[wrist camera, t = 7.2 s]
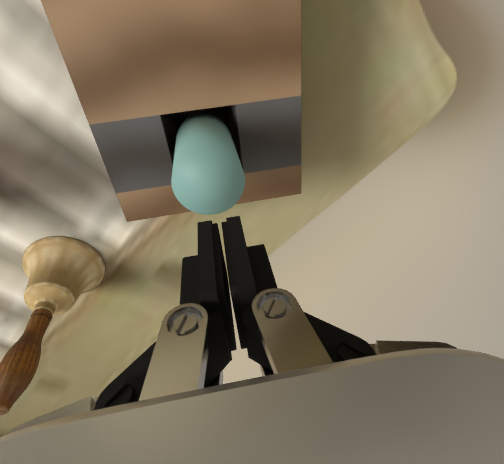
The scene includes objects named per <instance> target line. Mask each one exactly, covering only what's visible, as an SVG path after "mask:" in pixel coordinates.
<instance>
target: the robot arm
mask: <svg viewBox="0 0 504 464" xmlns="http://www.w3.org/2000/svg"><path fill="white" fill-rule="evenodd" d="M226 220H227V222H222V230H223V238H224V246H225V254H226V262H227V270H228V277H229V284H228V277H227V271H226V266H225V261H224V255H223V250H222V245H221V240H220V234H219V229H218V224H217V223H215V224H212V221H205V222H198V255H196V256H190V257H184V258H183V261H182V277H181V294H180V305H179V306H177V307H175V308H173V309H172V310H170V311H169V312H168V313H167V314H166V316H165V317H164V319H163V321H162V324H161V327H160V331H159V334H158V337H157V341H156V342H155V343H154V344H153V345H151V346H150V347H149V348H148V349H147V350H146V351H145V352H144V353H143V354H142V355H141V356H140V357H138V358H137V359H136V360H135V361H134V362H133V363H132V364H131V365H130V366H129V367H128V368H126V369H125V370H124V371H123V372H122V373H121V374H120V375H119V376H118V377H117V378H116V379H115V380H113V381H112V382H111V383H110V384H109V385H108V386H107V387H106V388H105V389H104V390H103V392H102V393H101V394H100V396H99V397H96V398H94V399H93V398H92V397H91V396H89V397H87V398H84V399H82V400H79V401H77V402H74V403H72V404H69V405H67V406H65V407H62V408H60V409H57V410H55V411H52V412H50V413H47V414H45V415H42V416H40V417H37V418H35V419H32V420H30V421H27V422H25V423H23V424H21V425H19V426H17V427H15V428H14V429H12V430H11V431H10V432H9V433H8V434H6V435H5V436H2V437H0V464H504V359H502V358H499V357H496V356H492V355H489V354H485V353H481V352H475V351H469V350H462V349H457V348H456V347H454V346H451V345H449V344H447V343H441V342H419V341H376V344H368V343H367V342H366V341H364V340H362V339H361V338H359V337H357V336H355V335H353V334H350V333H348V332H346V331H344V330H342V329H340V328H338V327H335V326H333V325H331V324H329V323H326V322H325V321H322V320H320V319H318V318H316V317H314V316H312V315H309V314H307V313H305V312H303V310H302V309H301V307H300V305H299V303H298V302H297V300H296V298H295V297H294V296H293V295H292V294H291V293H290V292H288V291H287V290H283V289H279V288H277V285H276V282H275V279H274V275H273V272H272V269H271V265H270V262H269V259H268V256H267V252H266V249H265V246H264V244H262V245H256V246H250V247H246V242H245V238H244V233H243V229H242V225H241V220H240V216H236V217H230V218H226ZM229 285H230V291H231V297H232V302H233V308H234V312H235V318H236V323H237V329H238V334H239V339H240V345H241V349H244V348H247V350H248V356H249V358H250V359H252V360H254V361H255V362H257V363H259V364H260V368H261V372H262V374H263V377H258V378H252V379H247V380H242V381H237V382H232V383H227V384H223V371H222V370H223V369H224V368H225V367H226V365H227V364H228V363H229V362H230V361H231V360H232V356H231V351H233V350H236V341H235V333H234V325H233V317H232V308H231V301H230V292H229Z"/></svg>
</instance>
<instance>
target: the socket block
mask: <svg viewBox="0 0 504 464" xmlns="http://www.w3.org/2000/svg"><path fill="white" fill-rule="evenodd" d="M41 2H42V5H43V7H44V10H45V12H46V15H47V18H48V20H49V23H50V25H51V28H52V30H53V33H54V36H55V38H56V41H57V43H58V46H59V48H60V51H61V53H62V56H63V59H64V61H65V64H66V66H67V69H68V71H69V74H70V77H71V79H72V82H73V84H74V87H75V89H76V92H77V95H78V97H79V100H80V102H81V105H82V107H83V110H84V113H85V115H86V118H87V120H88V123H89V125H90V128H91V130H92V133H93V136H94V138H95V141H96V143H97V146H98V148H99V151H100V154H101V156H102V159H103V161H104V164H105V166H106V169H107V172H108V174H109V177H110V179H111V182H112V184H113V187H114V190H115V192H116V195H117V197H118V200H119V202H120V205H121V207H122V210H123V213H124V215H125V218H126V220H127V222H129V221H135V220H141V219H147V218H154V217H160V216H166V215H172V214H178V213H184V212H190V211H191V210H189V209H187V208H186V207H184V206H183V205H182V204H181V203H180V202H179V201H178V200H177V198H176V196H175V195H174V192H173V189H172V184H171V179H172V170H173V161H174V153H175V144H176V136H177V131H176V127H175V122H174V118H173V114H172V113H177V112H185V111H192V110H199V109H207V108H214V107H221V106H228V112H229V120H230V128H231V135H232V140H233V143H234V146H235V148H236V151H237V154H238V157H239V160H240V163H241V166H242V169H243V172H244V176H245V187H244V191H243V193H242V196H241V197H240V199H239V200H238V202H237V203H236V204H240V203H246V202H252V201H258V200H264V199H270V198H277V197H283V196H289V195H295V194H301V0H41Z"/></svg>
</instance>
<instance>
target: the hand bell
mask: <svg viewBox="0 0 504 464" xmlns="http://www.w3.org/2000/svg"><path fill="white" fill-rule="evenodd" d="M22 263H23V269H24V271H25V274H26V275H27V277H28V278H29V281H28V285H27V288H26V290H25V293H24V300H25V303H26V304H27V306H28V307H29V308H30V309H32V310H33V313H32V314H31V318H30V320H29V322H28V324H27V327H26V329H25V331H24V333H23V335H22V336H21V338H20V339H19V340H18V341H17V342H16V343H15V344H14V345H13V346H12V347H11V348H10V349H9V351H8V352H7V353H6V355H5V356H4V358H3V359H2V361H1V363H0V415H3V414H6V413H8V411H9V410H10V408H11V407H12V405H13V404H14V403H15V401H16V400H17V399H18V398H19V397H20V396H21V394H22V393H23V392H24V391H25V390H26V388H27V387H28V385H29V384H30V382H31V380H32V378H33V376H34V374H35V372H36V369H37V367H38V363H39V360H40V354H41V341H42V338H43V335H44V333H45V331H46V329H47V327H48V325H49V323H50V321H51V319H52V315H59V314H63V313H65V312H67V311H68V310H70V309H71V308H72V307H73V305H74V303H75V302H76V300H77V298H78V297H79V296H80V294H83V293H86V292H88V291H90V290H92V289H94V288H95V287H96V286H98V285H99V284H100V283H101V281H102V280H103V278H104V275H105V263H104V261H103V259H102V257H101V256H100V254H99V253H98V252H97V251H96V250H95V249H94V248H92V247H91V246H89V245H88V244H86V243H84V242H82V241H79V240H76V239H73V238H68V237H59V236H56V237H47V238H43V239H40V240H38V241H36V242H34V243H32V244H31V245H30V246H29V247H28V248H27V249H26V250H25V252H24V254H23V259H22Z"/></svg>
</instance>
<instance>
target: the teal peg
mask: <svg viewBox="0 0 504 464" xmlns="http://www.w3.org/2000/svg"><path fill="white" fill-rule="evenodd" d="M171 184H172V189H173V192H174V195H175V196H176V198H177V200H178V201H179V202H180V203H181V204H182V205H183V206H184V207H186V208H187V209H189V210H191V211H193V212H195V213H199V214H205V215H212V214H218V213H221V212H224V211H226V210H228V209H229V208H231V207H232V206H234V205H235V204H236V203H237V202H238V200H239V199H240V197H241V196H242V193H243V191H244V187H245V176H244V172H243V169H242V166H241V163H240V160H239V157H238V154H237V151H236V148H235V146H234V143H233V140H232V137H231V134H230V131H229V129H228V127H227V126H226V124H225V123H224V122H223V121H222V120H221V119H219V118H218V117H216V116H214V115H211V114H204V113H202V114H195V115H193V116H190V117H189V118H187V119H186V120H185V121H184V122H183V123H182V124H181V125H180V127H179V129H178V132H177V136H176V144H175V153H174V161H173V170H172V179H171Z"/></svg>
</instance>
